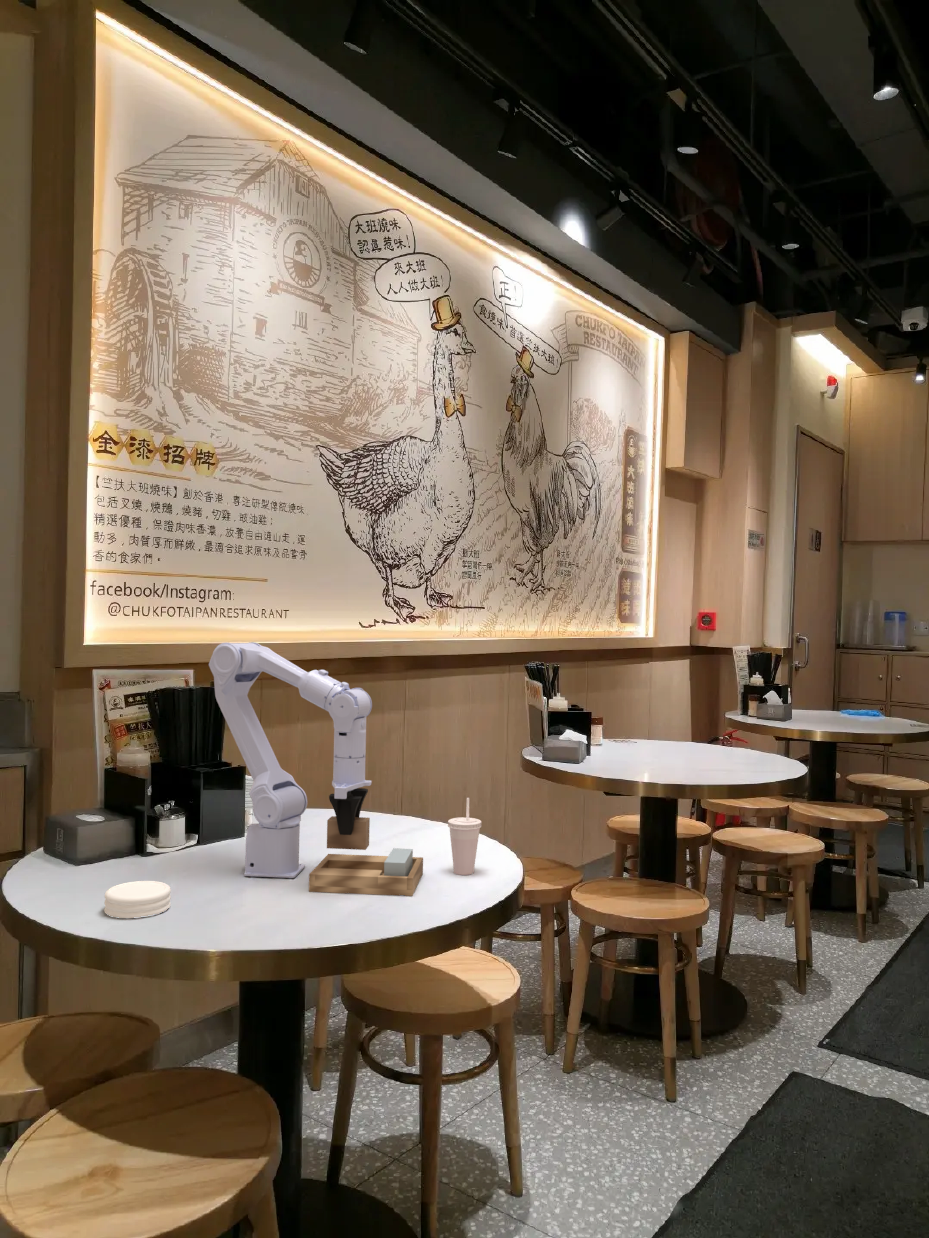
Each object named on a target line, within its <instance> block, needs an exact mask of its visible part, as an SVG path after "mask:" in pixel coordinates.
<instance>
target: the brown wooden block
mask: <svg viewBox="0 0 929 1238" xmlns="http://www.w3.org/2000/svg"><path fill="white" fill-rule="evenodd" d="M326 821H327V822H326V823H327V825H326V826H327V827H326V849H332V850H333V849H334V850H335V849H336V850H356V851H357V850H359V851H366V850H367V849H368V848H369V847H370V824H371V820H370V817H362V816H361V817H360V816H359V817H355V821H354V827H353V831H352V834H351V835H340V833H339V829H338V824H337V819H336V815H334V816H333V815H332V816H330V817H329V818H328V819H327V820H326Z"/></svg>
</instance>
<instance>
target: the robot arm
mask: <svg viewBox="0 0 929 1238" xmlns="http://www.w3.org/2000/svg"><path fill="white" fill-rule="evenodd" d="M208 667H209V669H210V672H211V674H212V676H213V683H214V696H215V699H216V702H217V704H218V707H219V708H220V711H221V713H222V715H223V717H224V720H225V721H226V724H227V726H228V728H229V730H230V733H231V735H232V737H233V740H234V742H235V744H236V746H237V747H238V750H239V753H240V754H241V757H242V759H243V760H244V763H245V765H246V768H247V770H248V772H249V774H250V776H251V778H252V781H253V782H252V785H251V788H250V789H249V793H248V794H249V796H250V799H251V802H252V813H253V816H254V818H255V820H256V821H257V822H258V823H251V824H250V825H249V826H248V828H247V832H246V837H245V860H244V861H245V864H244V865H245V866H244V873H243V876H244V877H261V878H262V877H263V878H282V879H286V878H287V879H294V878H296V877H297V876H298V875H299V874H300V873H301V871H302V872H303V870H304V868H306V864H304V863H300V836H301V835H300V833H301V832H300V830H301V828H300V826H301V821H302V818H301V817H302V815H303V814H304V813H305V811H306V810H307V808H308V807H307V806H308V796H307V794H306V792H305V790H304V789H303V788H302V787H301V786H300V785H299V784H298V783H297V782H296V780H295V779H294V777H293V775H292V774H290V773H289V772H287V771H285V770H284V769H282V767H281V765H280V762H279V761H278V759H277V757H276V755H275V752H274V750H273V748H272V746H271V743H270V742H269V739H268V738H267V735H266V733H265V731H264V729H263V726H262V725H261V722H260V721H259V718H258V716H257V714H256V712H255V709H254V708H253V705H252V703H251V701H250V699H249V696H248V695H249V692H250V690H251V687H252V686H253V685H254V683H255V682H256V680H257V679H258V678H259V676H260V675H261V673H262V672H264V673H266V674H268V675H270V676H272V677H275V678H277V679H279V680H281V681H283V682H285V683H288V684H289V685H291V686H293V687H295V688H298V693H299V695H300V697H301V698H303V699H304V700H306V701H308V702H310V703H311V704H314V705H315V706H316V707H319V708H321V709H322V710H324V711H326V712H328V714H329V716H330V718H332V720H333V729H334V730H333V763H332V764H333V766H332V768H333V769H332V770H333V771H332V773H333V774H332V776H333V777H332V780H331V786H332V787H333V789H334V793H330V794H329V795H328V800H329V802H330V804H331V806H332V808H333V811H334V814H335V816H336V819H337V824H338V829H339V833H340V835H351V834H352V831H353V827H354V821H355V817H360V815H361V811H362V807H363V804H364V800H365V798H366V796H367V794H368V792H369V789H368V788H363V787H370V786H371V785H372V782H373V780H370V779H369V780H367V779H366V755H367V754H366V753H367V752H366V749H367V717H368V716H369V715H370V714H371V711H372V708H373V701H372V698H371V696H370V695H369V693H368V692H367V691H365V690H364V688H362V687H354V688H350V684H349V683H348V682H346V681H342V682H341V681H339V680H337V679H335V678H333V677H332V676H329V671H328V670H325V669H318V670H317V669H313V670H311V671H306V670H304V669H302V668H301V667H299V665H296V664H294V663H293V662H292V661H290V660H288V659H286V658H285V657H283V656H281V655H279V654H277V653H276V652H275V651H273V650H272V649H271V648H269V647H267V646H265V645H264V646H263V645H261V644H259V643H258V642H254V641H251V642H250V641H249V642H241V643H240V642H221V643H220V644H218V645H217V646H216V647H215V648H214V650H213V651H212V654H211V656H210V660H209V662H208Z"/></svg>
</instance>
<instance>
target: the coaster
mask: <svg viewBox="0 0 929 1238" xmlns="http://www.w3.org/2000/svg"><path fill="white" fill-rule="evenodd" d="M171 891H172V890H171V886H170V885H169V884H167V883H165V882H162V881H157V880H137V881H129V882H124V883H119V884H117V885H113V886H111V887H110V888H109V889H107V890H106V891H105V893H104V899H105V900H104V908H103V911H104V913H106V914H108V915H110V916H113V917H119V918H134V917H141V916H148V915H153V914H159V913H161V912H164V911H165V910H167V909H168V908H169V909H170V907H171V904H172V903H171V898H172V896H171ZM169 909H168V910H169ZM168 910H167V911H168ZM164 913H165V912H164ZM106 914H105V915H106ZM108 915H107V916H108ZM159 915H160V914H159Z"/></svg>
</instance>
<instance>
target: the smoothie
mask: <svg viewBox="0 0 929 1238" xmlns="http://www.w3.org/2000/svg"><path fill="white" fill-rule="evenodd" d="M465 806H466V807H465V808H466V809H465V811H466V813H465V814H466V815H465V817H462V816H461V817H453V818H450V819H448V821H447V827H448V828H449V835H450V846H451V856H452V857H451V858H452V864H453V866H452V867H453V873H454V874H455V875H458V876H469V875H470V874H471V875H473V874H474V872H475V865H476V858H477V852H478V851H477V850H478V844H479V838H480V837H479V835H480V828H482V820H480V819H478V818H474V817H470V797H466V805H465ZM472 873H473V874H472Z"/></svg>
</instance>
